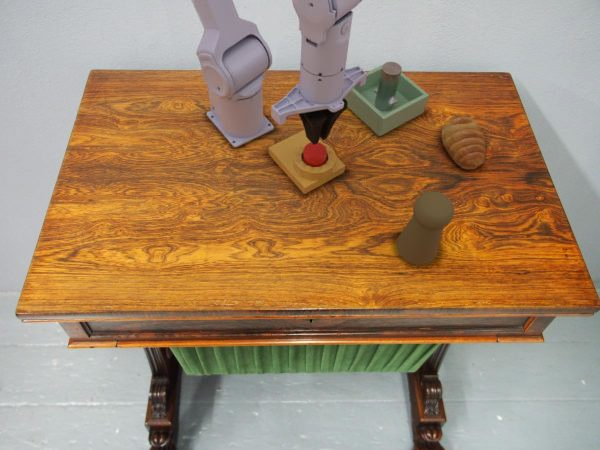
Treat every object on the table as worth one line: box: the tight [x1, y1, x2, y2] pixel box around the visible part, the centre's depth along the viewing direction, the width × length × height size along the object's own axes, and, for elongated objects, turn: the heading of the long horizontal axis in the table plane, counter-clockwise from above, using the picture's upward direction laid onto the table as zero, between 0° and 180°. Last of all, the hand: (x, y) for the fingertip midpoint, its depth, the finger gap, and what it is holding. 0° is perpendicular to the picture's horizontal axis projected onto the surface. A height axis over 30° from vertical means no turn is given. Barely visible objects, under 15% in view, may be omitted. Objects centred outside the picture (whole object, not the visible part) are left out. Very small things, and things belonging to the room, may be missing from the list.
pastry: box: [440, 116, 487, 170], centre depth 82 cm, size 9×7×4 cm
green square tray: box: [344, 64, 430, 137], centre depth 87 cm, size 10×10×4 cm
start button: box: [303, 143, 327, 167], centre depth 76 cm, size 4×4×2 cm
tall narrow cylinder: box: [374, 61, 403, 111], centre depth 84 cm, size 4×3×8 cm
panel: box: [268, 129, 346, 195], centre depth 79 cm, size 10×8×4 cm
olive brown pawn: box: [395, 190, 455, 266], centre depth 68 cm, size 6×6×11 cm
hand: (316, 137), depth 73 cm, fingers closed
